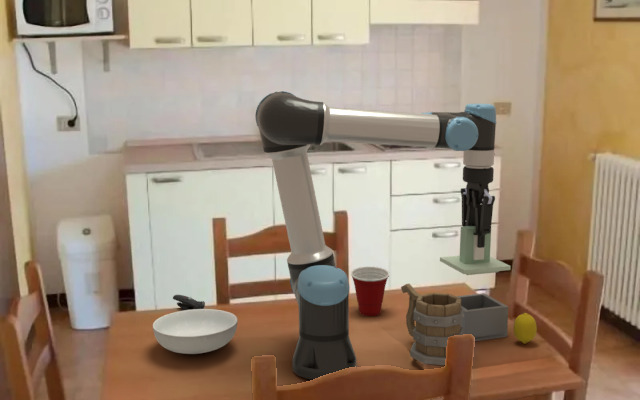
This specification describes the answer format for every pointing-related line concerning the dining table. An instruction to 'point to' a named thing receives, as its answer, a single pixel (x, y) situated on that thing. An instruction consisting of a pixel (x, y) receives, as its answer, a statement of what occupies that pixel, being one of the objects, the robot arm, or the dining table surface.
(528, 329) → the lemon
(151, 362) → the dining table surface
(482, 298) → the parts tub
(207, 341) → the serving bowl
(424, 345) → the tankard
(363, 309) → the plastic cup
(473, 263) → the lid
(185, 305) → the black stapler
